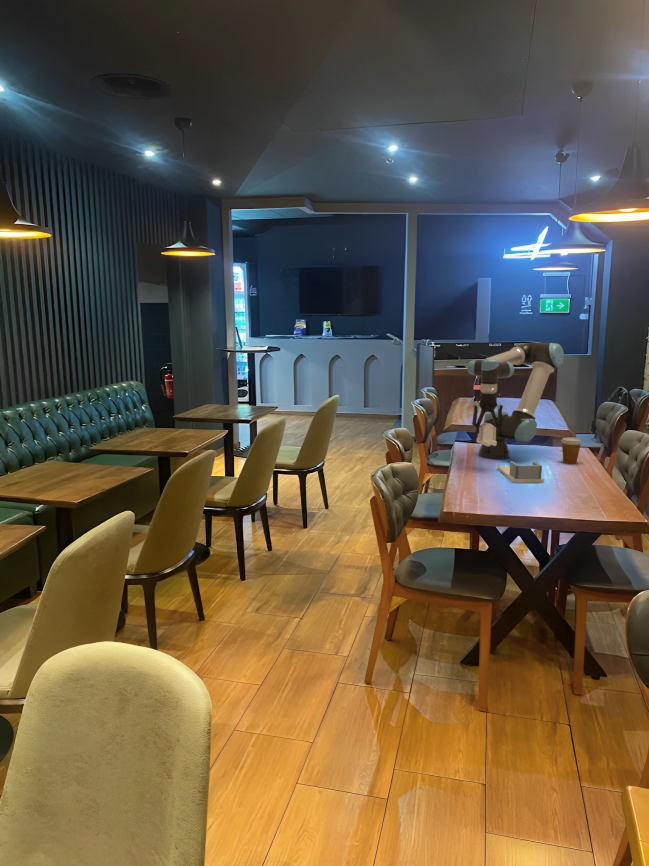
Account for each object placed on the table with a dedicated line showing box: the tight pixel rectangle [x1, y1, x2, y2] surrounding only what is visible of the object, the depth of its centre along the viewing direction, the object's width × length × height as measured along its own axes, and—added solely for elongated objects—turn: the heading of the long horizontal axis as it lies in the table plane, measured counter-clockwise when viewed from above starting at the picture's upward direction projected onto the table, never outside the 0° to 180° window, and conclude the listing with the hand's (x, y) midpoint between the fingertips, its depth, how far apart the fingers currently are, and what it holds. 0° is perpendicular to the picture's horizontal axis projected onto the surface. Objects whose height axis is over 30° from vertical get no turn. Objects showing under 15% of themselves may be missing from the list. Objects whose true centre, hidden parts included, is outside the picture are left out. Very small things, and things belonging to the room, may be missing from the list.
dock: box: [497, 460, 545, 483], centre depth 287 cm, size 23×14×8 cm, turn 1°
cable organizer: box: [476, 422, 497, 446], centre depth 296 cm, size 5×10×10 cm, turn 18°
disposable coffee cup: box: [560, 436, 583, 465], centre depth 311 cm, size 10×10×12 cm
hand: (486, 440), depth 297 cm, fingers closed on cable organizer, 6 cm apart
